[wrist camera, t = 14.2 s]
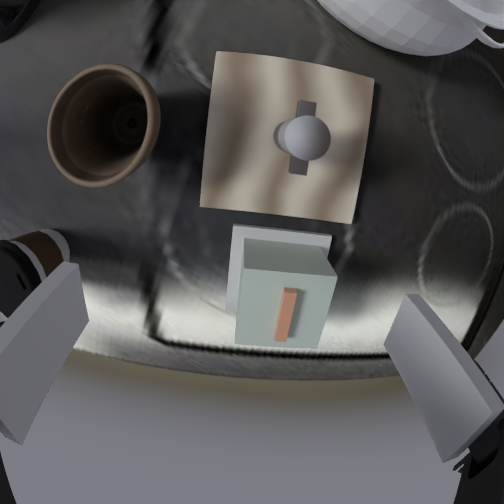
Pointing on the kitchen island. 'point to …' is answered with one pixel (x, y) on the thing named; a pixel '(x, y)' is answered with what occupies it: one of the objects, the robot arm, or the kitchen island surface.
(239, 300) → the cube with orange handle
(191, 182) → the kitchen island surface
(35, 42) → the kitchen island surface
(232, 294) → the pad
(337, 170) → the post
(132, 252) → the kitchen island surface
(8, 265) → the coffee cup
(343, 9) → the pot
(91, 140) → the flower pot
